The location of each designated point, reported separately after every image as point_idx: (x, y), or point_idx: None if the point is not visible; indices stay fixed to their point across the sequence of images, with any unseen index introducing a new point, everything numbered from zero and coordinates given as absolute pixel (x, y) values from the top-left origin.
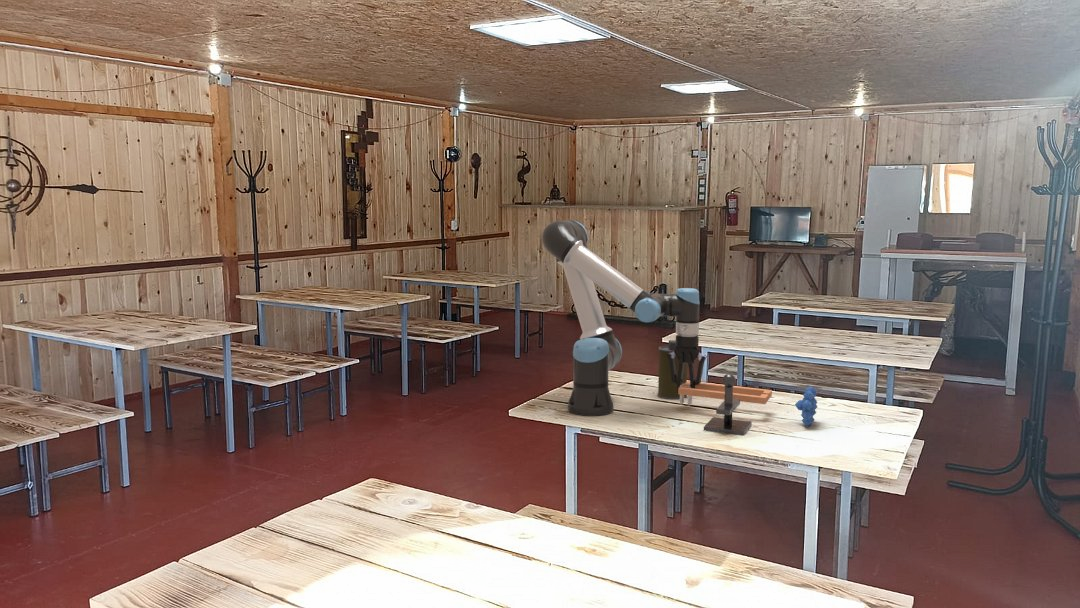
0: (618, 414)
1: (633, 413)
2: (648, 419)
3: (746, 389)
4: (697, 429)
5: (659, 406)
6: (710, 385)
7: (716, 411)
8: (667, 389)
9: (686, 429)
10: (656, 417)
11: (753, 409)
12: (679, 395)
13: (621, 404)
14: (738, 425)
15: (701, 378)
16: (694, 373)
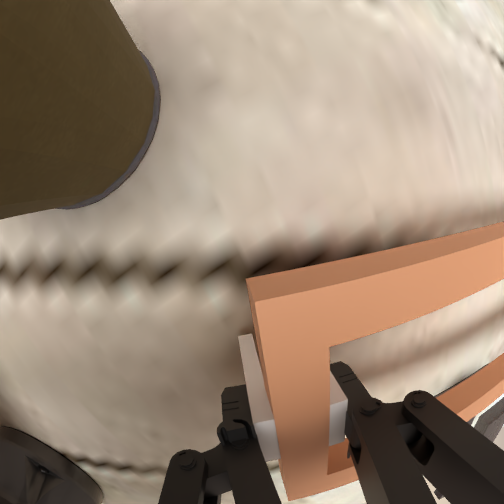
0: (119, 487)
1: (140, 474)
2: (221, 495)
3: None
4: None
5: (139, 375)
6: (463, 293)
7: (436, 495)
8: (47, 208)
9: (350, 488)
10: None
11: (495, 180)
12: (130, 157)
13: (28, 401)
14: None
15: (450, 410)
16: (416, 477)
